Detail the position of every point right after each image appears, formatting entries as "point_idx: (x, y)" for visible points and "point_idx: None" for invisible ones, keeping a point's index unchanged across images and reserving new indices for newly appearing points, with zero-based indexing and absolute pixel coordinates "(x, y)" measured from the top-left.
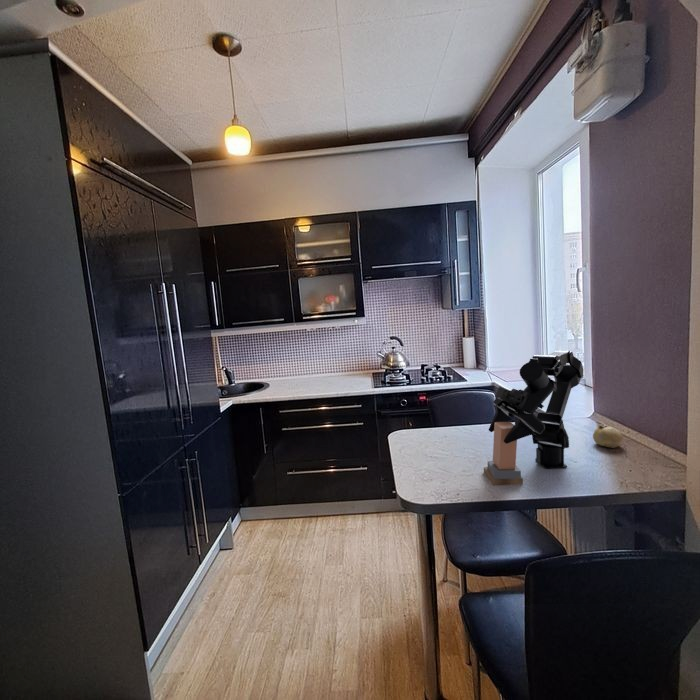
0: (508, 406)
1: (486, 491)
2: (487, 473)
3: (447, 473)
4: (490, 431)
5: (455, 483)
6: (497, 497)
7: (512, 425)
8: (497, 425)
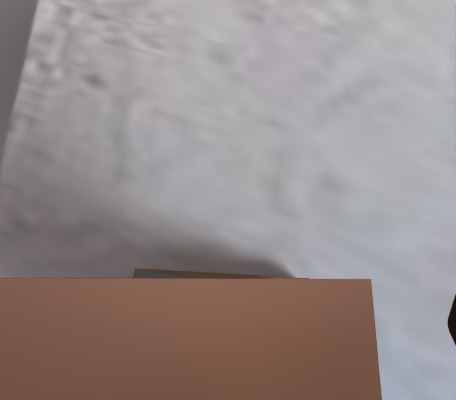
0: None
1: (84, 213)
2: (238, 276)
3: (309, 99)
4: (450, 311)
5: (198, 102)
6: (9, 242)
7: None
8: (201, 280)
